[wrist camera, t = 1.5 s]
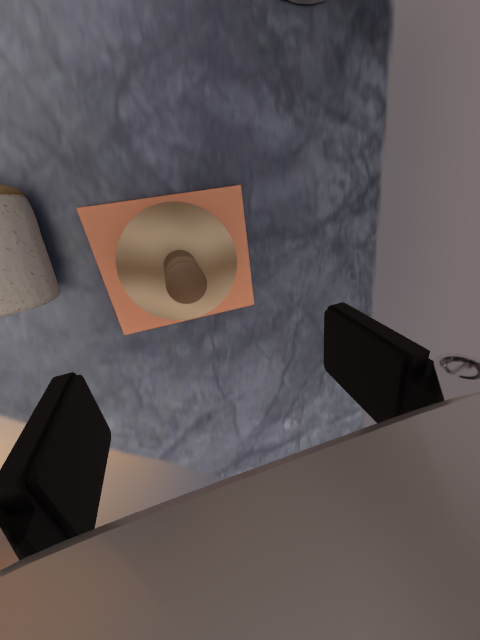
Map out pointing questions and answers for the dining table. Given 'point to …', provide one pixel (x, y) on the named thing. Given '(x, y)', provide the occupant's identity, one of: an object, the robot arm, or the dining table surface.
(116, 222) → the mat
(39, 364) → the dining table surface
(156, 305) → the lid
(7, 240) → the ceramic mug
